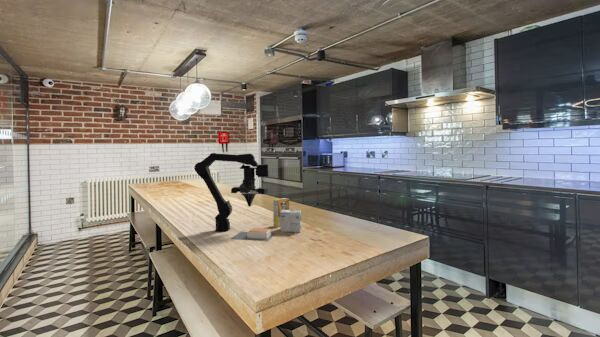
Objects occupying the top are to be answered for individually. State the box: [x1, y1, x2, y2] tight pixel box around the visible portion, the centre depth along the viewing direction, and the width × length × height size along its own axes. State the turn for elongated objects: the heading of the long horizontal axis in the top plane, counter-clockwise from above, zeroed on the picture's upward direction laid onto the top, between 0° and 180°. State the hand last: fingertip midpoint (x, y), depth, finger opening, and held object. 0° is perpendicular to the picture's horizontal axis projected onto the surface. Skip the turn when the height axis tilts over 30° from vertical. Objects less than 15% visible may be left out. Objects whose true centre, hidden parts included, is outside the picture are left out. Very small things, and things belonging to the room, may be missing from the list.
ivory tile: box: [246, 227, 272, 239], centre depth 161 cm, size 3×7×10 cm
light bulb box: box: [279, 209, 302, 233], centre depth 173 cm, size 11×7×11 cm, turn 84°
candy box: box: [272, 197, 290, 228], centre depth 183 cm, size 9×4×15 cm, turn 139°
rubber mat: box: [230, 231, 276, 242], centre depth 162 cm, size 19×14×1 cm
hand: (249, 206), depth 173 cm, fingers closed
